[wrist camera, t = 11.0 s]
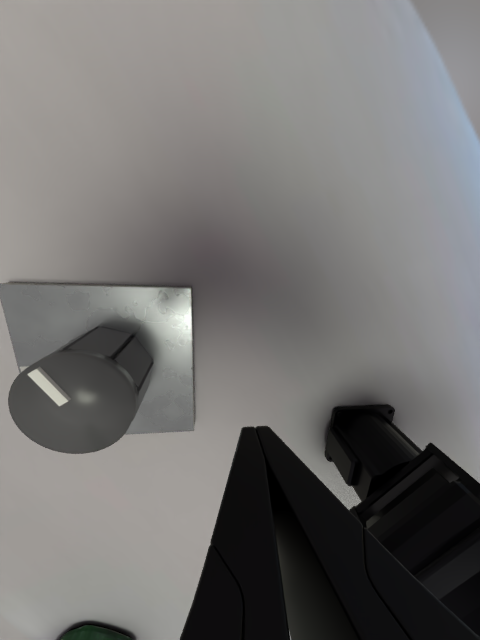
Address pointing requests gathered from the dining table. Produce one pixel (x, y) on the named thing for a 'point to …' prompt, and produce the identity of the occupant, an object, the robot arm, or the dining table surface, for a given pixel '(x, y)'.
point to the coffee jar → (93, 634)
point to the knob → (82, 392)
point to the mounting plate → (122, 315)
